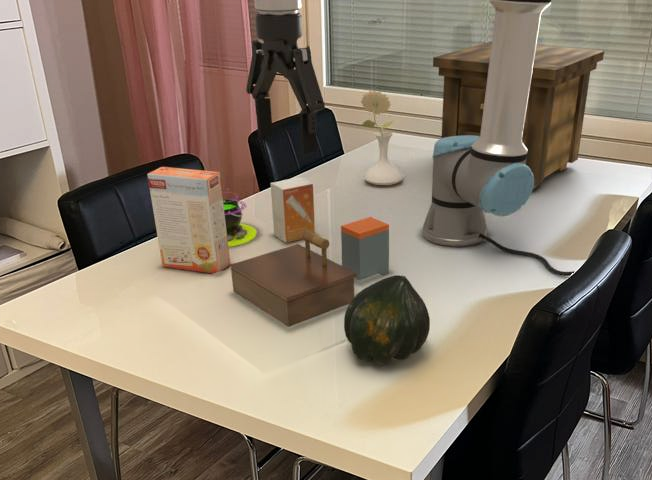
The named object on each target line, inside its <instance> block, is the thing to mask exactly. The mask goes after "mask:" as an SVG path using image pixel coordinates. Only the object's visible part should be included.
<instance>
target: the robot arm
mask: <svg viewBox="0 0 652 480" xmlns="http://www.w3.org/2000/svg"><path fill="white" fill-rule="evenodd" d="M488 1H489V2H490V4H491V5H492V7H493V8H494V11H495V15H494V21H493V31H492V39H491V41H492V45H491V53H490V61H489V69H488V77H487V86H486V94H485V102H484V110H483V118H482V126H481V134H480V136H473V135H464V136H451V137H445V138H442V139H441V138H440V139H437V140H436V141H435V143H434V146H433V151H432V182H431V203H430V206H429V208H428V210H427V211H428V212H427V214H426V217H425V219H424V222H423V225H422V237H423V238H424V239H425V240H426V241H428V242H430V243H433V244H435V245H439V246H444V247H452V248H453V247H454V248H455V247H457V248H460V247H461V248H462V247H470V246H475V245H478V244H481V243H483V242H484V241H486V242H487V243H489V244H492V245H493V246H494V247H496V248H498V249H499V250H501V251H503V252H505V253H510V254H513V255H519V256H524V257H525V256H526V257H531V258H535V259H537V260H539V261H541V262H542V264H543V265H544V266H545V267H546V269H547V270H548V271H550V273H552V274H555V275H558V276H563V277H571V276H570V275H571V274H572V273H574V272H575V271H576V270H572V271H563V270H562V271H561V270H558V269H556V268H555V267H553V266H552V265H551V263H549V261H548V260H547V259H546V258H545V257H543V256H542V255H540V254H537V253H534V252H530V251H525V250H519V249H512V248H509V247H507V246H504V245H502V244H500V243H499V242H498V241H495V240H494V239H492V238H491V237H489V236H488V225H487V222H486V217H485V213H487V214H492V215H494V216H497V217H506V216H510V215H512V214H514V213H516V212H518V211H519V210H520V209H521V208H522V207H523V206H524V205H525V204H526V203H527V202H528V200H529V199H530V197H531V195H532V193H533V190H534V189H533V187H534V175H533V173H532V172H531V169H530V168H529V167H528V166H527V165H526V159H527V152H528V150H527V148H526V147H525V145H524V144H523V143H522V136H523V129H524V122H525V116H526V109H527V103H528V96H529V89H530V83H531V76H532V70H533V63H534V57H535V50H536V45H537V42H538V37H539V29H540V23H541V18H542V17H541V16H542V13H543V12H544V11H545V10H546V9H547V8H549V6H550V5H551V4H552V0H488ZM253 2H254V9H255V10H256V11H258V13H256V15H255V16H254V18H255V30H256V37H257V38H258V39H256V40H252V42H251V48H252V49H251V50H252V51H251V52H252V54H251V60H250V66H249V70H248V77H247V81H246V82H247V83H246V89H245V90H246V93H247V94H248V95H251V96H252V97H251V98H252V99H253V100H254V106H255V107H254V109H255V116H256V126H257V127H256V128H257V138H259V139H262V138H266V137H273V136H274V132H273V119H272V117H273V116H272V105H271V103H272V102H271V98H269V97H271V95H270V93H269V92H270V91H271V88H272V85H273V83H274V80H275V78H276V76H277V74H279V75H282V76H283V77H284V78H285V79H287V81H288V83H289V85H290V87H291V89H292V92H293V94H294V97H295V98H296V100H297V102H298V105H299V107H300V108H301V110H300V112H299V113H298V114H299V130H300V131H299V132H300V133H299V134H300V149H301V150H300V151H301V153H302V154H308V153H311V152H317V151H318V146H317V145H318V144H317V143H318V142H317V131H318V126H317V125H318V124H317V123H318V121H317V113H318V112H319V111H323V110H325V109H326V105H325V102H324V98H323V95H322V91H321V88H320V84H319V81H318V79H317V75H316V71H315V68H314V66H313V61H312V52H311V48H310V47H309V46H307V47H299V46H298V41H299V39H301V38H302V37H303V20H302V19H303V17H302V14H301V13H300V12H299V10H300V9H302V0H253Z"/></svg>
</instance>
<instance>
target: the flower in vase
mask: <svg viewBox="0 0 652 480" xmlns="http://www.w3.org/2000/svg"><path fill="white" fill-rule="evenodd" d="M389 98H390V97H388V96H387V94H385V93H384V94H383V93H382V91H380V90H379V91H377V90H373V91H372V90H369V91H368V92H365V93H364V94H363V95H362V98H361V100H360V103H361V105H362V107H363V108H364V110H365V111H367V112H368V113H372V114H373V120H370V119H366V120H365V121H363V122H362V124H361V126H363V127H367V128H371V129H372V128H374V127H375V126H376V128H377V130H378V131H377V132H375V133H374V136H375V137H376V139H377V141H378V147H379V157H378V160H377V162H375V163H374V164H373V165H372V166H371V167H369V168H368V169H367V170H366V171H365V173H364V174H363V179H364V181H365V182H367V183H369V184H372V185H376V186H390V185H395V184H398V183H400V182H401V181H402V180H403V179H404V174H403V172H402V171H401V170H400V169H399V168H398V167H397V166H395V165H394V164H393V163H392V162H391V161H390V159H389V156H388V155H389V154H388V150H389V142H390V140H391V138H392V137H393V135H394V134H393V133H392V132H391V131H382V130H384V129H387V128H389V127H390V126H391V125H392V123H393V120H391V121H390V122H386V123H384V124H383V125H382V126H381V127H380V126H379V125H378V124H377V120H376V115H381V114H385V113H387V112H389V109H390V107H391V101H390V100H389Z"/></svg>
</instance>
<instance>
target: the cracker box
mask: <svg viewBox="0 0 652 480" xmlns="http://www.w3.org/2000/svg"><path fill="white" fill-rule="evenodd" d="M146 175H147V176H146V177H147V181H148V188H149V193H150V199H151V205H152V211H153V217H154V224H155V229H156V237H157V241H158V242H157V243H158V246H159V247H158V248H159V252H160V259H161V265H162V267H164V268H172V269H178V270H187V271H192V272H193V271H194V272H201V273H207V274H212V275H213V274H216V273H219V272H222V271H224V270H225V269H226V268H228V267H229V266H231V257H230V251H229V250H230V247H228V239H227V231H226V223H225V214H224V205H223V199H224V198H223V188H222V182H221V181H222V180H221V173H220V171H213V170H212V171H211V170H203V169H202V170H201V169H191V168H190V169H189V168H180V167H171V166H170V167H169V166H159V167H158V168H157V169H155V170H152V171H150V172H148V173H147V174H146Z"/></svg>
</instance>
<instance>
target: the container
mask: <svg viewBox="0 0 652 480" xmlns="http://www.w3.org/2000/svg"><path fill="white" fill-rule="evenodd" d="M340 244H341V266H343V267H345V268H347V269H349V270H351V271H353V272H355V273H357V277H355V278H354V279H356V280H358V281H362V280H365V279H368V278H370V277H373V276H376V275H380V276H385V275H388V274H389V273H390V224H389V223H387V222H384V221H381V220H379V219H377V218H375V217H373V216H368V217H365V218H362V219H358V220H356V221H355V220H354V221H352V222H349V223H346V224H342V225H340Z"/></svg>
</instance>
